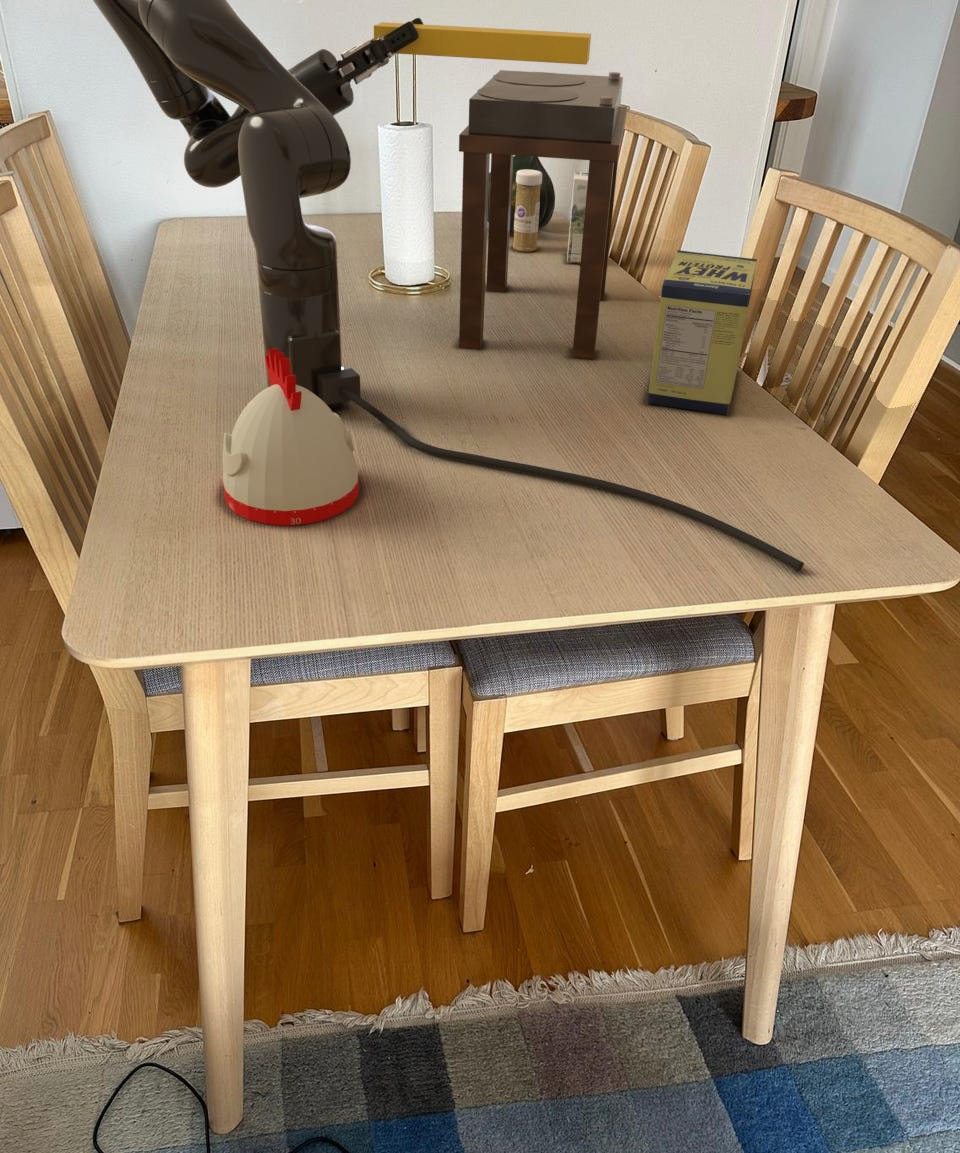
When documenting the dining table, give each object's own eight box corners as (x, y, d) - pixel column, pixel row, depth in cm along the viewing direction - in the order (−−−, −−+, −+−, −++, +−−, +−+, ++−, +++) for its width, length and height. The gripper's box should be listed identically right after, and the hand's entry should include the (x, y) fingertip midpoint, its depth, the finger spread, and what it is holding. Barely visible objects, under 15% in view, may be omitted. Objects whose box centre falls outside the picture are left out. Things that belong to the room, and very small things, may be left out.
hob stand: (454, 348, 142) (459, 92, 124) (486, 283, 167) (494, 62, 148) (597, 361, 140) (623, 102, 122) (607, 293, 164) (630, 70, 146)
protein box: (737, 371, 138) (758, 257, 130) (729, 416, 126) (751, 293, 117) (660, 361, 140) (676, 248, 132) (645, 405, 128) (661, 283, 119)
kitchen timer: (331, 452, 114) (323, 323, 106) (379, 507, 104) (376, 369, 96) (208, 476, 108) (191, 342, 100) (248, 537, 98) (232, 393, 90)
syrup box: (599, 256, 182) (607, 171, 174) (599, 266, 177) (607, 179, 169) (567, 254, 182) (574, 169, 174) (566, 263, 178) (573, 177, 169)
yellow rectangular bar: (374, 52, 128) (373, 25, 126) (382, 48, 132) (381, 22, 130) (586, 64, 125) (589, 37, 123) (588, 60, 129) (591, 33, 127)
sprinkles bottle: (509, 250, 183) (513, 172, 176) (517, 244, 187) (521, 167, 179) (533, 253, 182) (538, 175, 175) (540, 247, 186) (545, 170, 178)
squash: (454, 203, 189) (508, 143, 180) (480, 189, 201) (532, 133, 193) (505, 261, 191) (561, 205, 183) (527, 244, 203) (581, 191, 195)
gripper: (277, 72, 126) (392, 0, 120) (310, 59, 138) (416, -8, 132) (309, 130, 130) (422, 63, 123) (338, 112, 141) (443, 50, 135)
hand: (418, 27), depth 128 cm, fingers closed on yellow rectangular bar, 4 cm apart
